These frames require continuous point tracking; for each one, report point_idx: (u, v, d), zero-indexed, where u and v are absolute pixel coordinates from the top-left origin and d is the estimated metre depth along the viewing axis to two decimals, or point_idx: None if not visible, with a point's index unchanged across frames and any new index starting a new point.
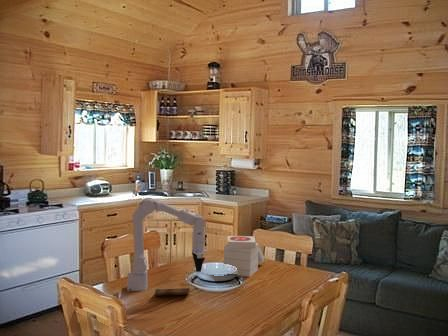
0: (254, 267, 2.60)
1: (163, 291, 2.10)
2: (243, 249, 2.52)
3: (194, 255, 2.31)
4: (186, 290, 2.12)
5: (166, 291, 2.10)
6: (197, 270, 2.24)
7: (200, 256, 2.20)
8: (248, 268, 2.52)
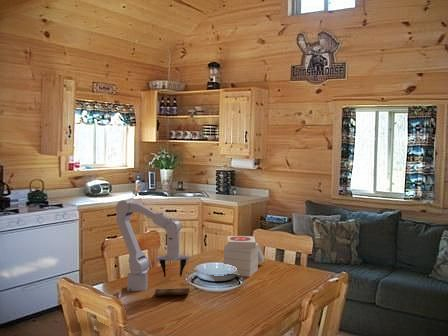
0: (254, 267, 2.60)
1: (163, 291, 2.10)
2: (243, 249, 2.52)
3: (180, 262, 2.20)
4: (186, 290, 2.12)
5: (166, 291, 2.10)
6: None
7: (157, 259, 2.16)
8: (248, 268, 2.52)
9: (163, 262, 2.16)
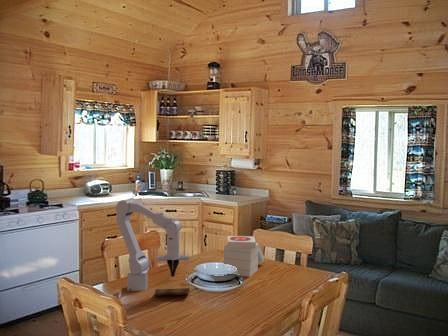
0: (254, 267, 2.60)
1: (163, 291, 2.10)
2: (243, 249, 2.52)
3: None
4: (186, 290, 2.12)
5: (166, 291, 2.10)
6: (171, 274, 2.19)
7: (157, 259, 2.16)
8: (248, 268, 2.52)
9: (170, 262, 2.16)
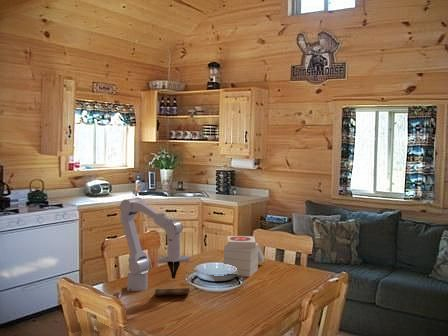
0: (254, 267, 2.60)
1: (163, 291, 2.10)
2: (243, 249, 2.52)
3: None
4: (186, 290, 2.12)
5: (166, 291, 2.10)
6: None
7: (157, 261, 2.13)
8: (248, 268, 2.52)
9: (171, 264, 2.13)
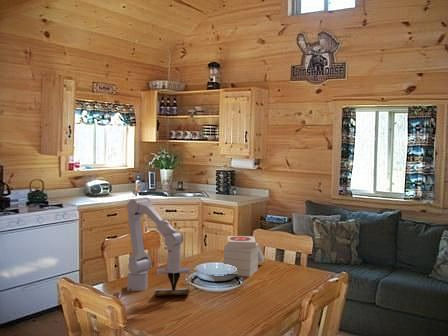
0: (254, 267, 2.60)
1: (163, 292, 2.10)
2: (243, 249, 2.52)
3: None
4: (186, 291, 2.11)
5: (166, 292, 2.10)
6: None
7: (157, 272, 2.09)
8: (248, 268, 2.52)
9: (171, 275, 2.09)
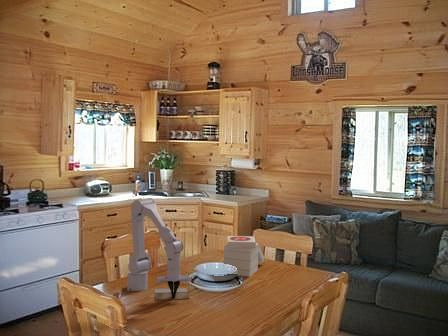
0: (254, 267, 2.60)
1: None
2: (243, 249, 2.52)
3: None
4: None
5: None
6: None
7: (157, 280, 2.10)
8: (248, 268, 2.52)
9: (171, 283, 2.10)
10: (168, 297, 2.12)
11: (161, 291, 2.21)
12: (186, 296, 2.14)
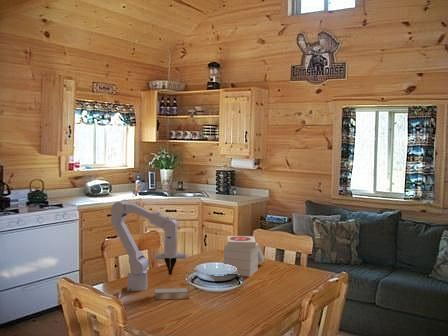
0: (254, 267, 2.60)
1: None
2: (243, 249, 2.52)
3: None
4: None
5: None
6: None
7: None
8: (248, 268, 2.52)
9: (168, 260, 2.19)
10: (168, 297, 2.12)
11: (161, 291, 2.21)
12: (186, 296, 2.14)
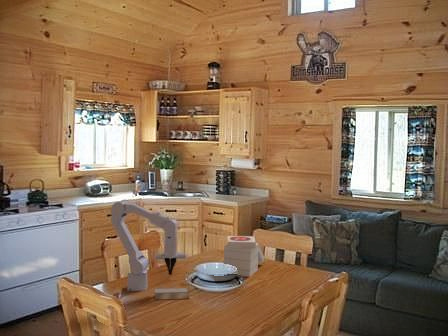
0: (254, 267, 2.60)
1: None
2: (243, 249, 2.52)
3: None
4: None
5: None
6: None
7: None
8: (248, 268, 2.52)
9: (168, 260, 2.19)
10: (168, 297, 2.12)
11: (161, 291, 2.21)
12: (186, 296, 2.14)
